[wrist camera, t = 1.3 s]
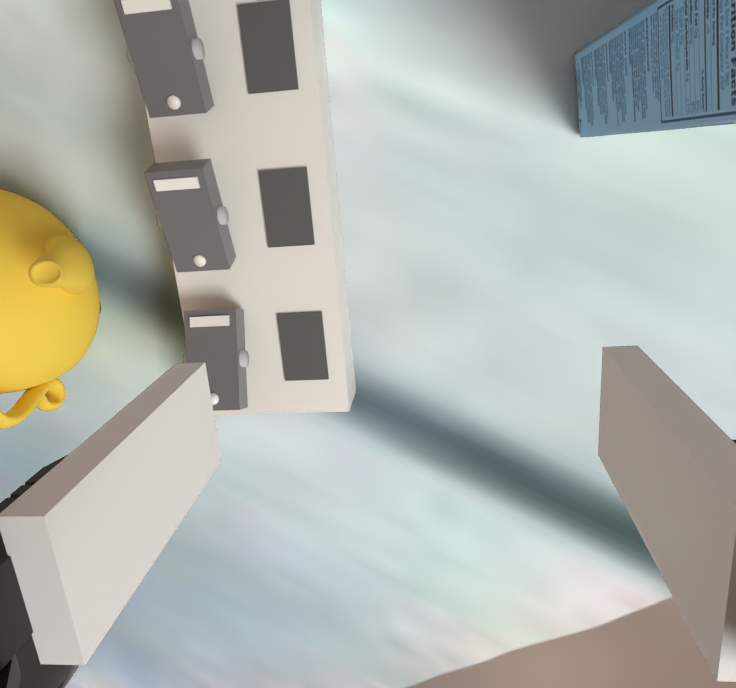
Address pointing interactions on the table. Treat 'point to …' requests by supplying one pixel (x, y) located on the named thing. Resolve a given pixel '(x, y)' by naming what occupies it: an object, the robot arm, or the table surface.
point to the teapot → (41, 305)
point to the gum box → (660, 70)
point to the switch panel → (271, 200)
